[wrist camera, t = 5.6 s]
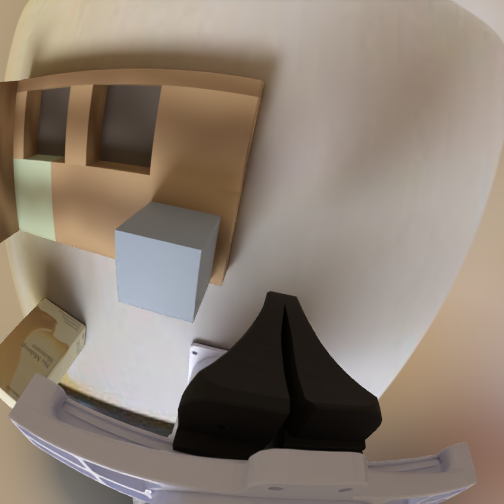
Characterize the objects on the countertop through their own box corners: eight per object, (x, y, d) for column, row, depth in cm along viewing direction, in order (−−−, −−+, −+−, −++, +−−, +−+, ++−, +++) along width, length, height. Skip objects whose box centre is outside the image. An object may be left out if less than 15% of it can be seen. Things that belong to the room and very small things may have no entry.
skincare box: (87, 324, 26) (27, 411, 15) (85, 347, 28) (34, 426, 17) (42, 294, 25) (-23, 368, 14) (43, 319, 27) (-12, 388, 16)
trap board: (226, 270, 21) (212, 314, 17) (26, 219, 21) (-9, 242, 16) (264, 84, 15) (257, 71, 11) (27, 81, 15) (-15, 85, 10)
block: (210, 278, 19) (192, 323, 15) (148, 263, 19) (118, 301, 15) (220, 216, 17) (201, 250, 13) (151, 201, 17) (114, 229, 13)
